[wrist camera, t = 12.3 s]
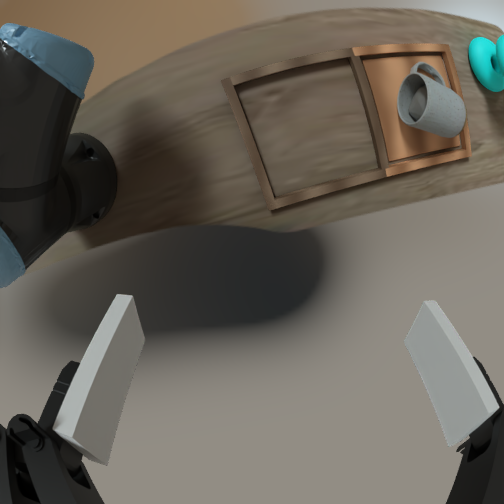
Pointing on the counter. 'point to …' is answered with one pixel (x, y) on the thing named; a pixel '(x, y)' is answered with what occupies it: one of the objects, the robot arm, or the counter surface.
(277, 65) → the tray
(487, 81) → the donuts
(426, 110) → the ceramic mug
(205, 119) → the counter surface
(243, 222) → the counter surface
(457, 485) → the robot arm
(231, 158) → the counter surface
